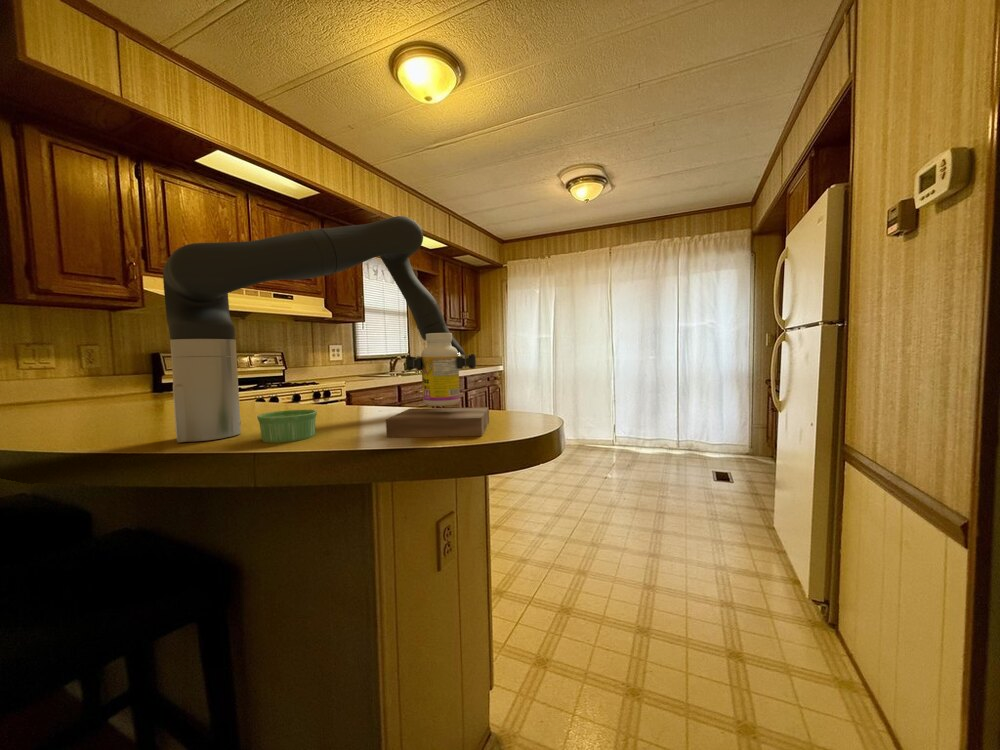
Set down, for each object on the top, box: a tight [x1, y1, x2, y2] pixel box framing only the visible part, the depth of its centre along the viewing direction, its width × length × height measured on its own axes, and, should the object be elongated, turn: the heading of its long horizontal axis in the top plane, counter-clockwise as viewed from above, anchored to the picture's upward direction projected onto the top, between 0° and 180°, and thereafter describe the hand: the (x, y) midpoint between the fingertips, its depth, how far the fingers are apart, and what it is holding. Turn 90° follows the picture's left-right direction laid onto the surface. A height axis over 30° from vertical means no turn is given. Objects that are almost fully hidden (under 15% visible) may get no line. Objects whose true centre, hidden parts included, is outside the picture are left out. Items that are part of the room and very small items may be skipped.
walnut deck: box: [385, 406, 490, 438], centre depth 71 cm, size 13×16×3 cm
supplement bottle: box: [420, 332, 461, 407], centre depth 71 cm, size 7×7×13 cm
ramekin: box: [257, 409, 318, 444], centre depth 67 cm, size 9×9×4 cm
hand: (439, 363), depth 69 cm, fingers closed on supplement bottle, 6 cm apart
